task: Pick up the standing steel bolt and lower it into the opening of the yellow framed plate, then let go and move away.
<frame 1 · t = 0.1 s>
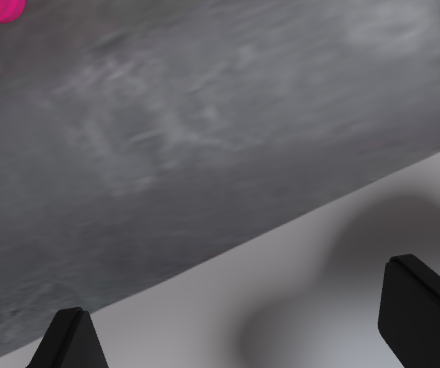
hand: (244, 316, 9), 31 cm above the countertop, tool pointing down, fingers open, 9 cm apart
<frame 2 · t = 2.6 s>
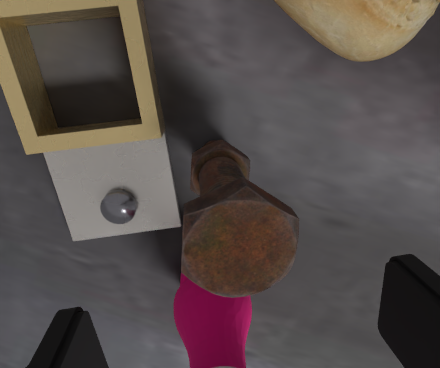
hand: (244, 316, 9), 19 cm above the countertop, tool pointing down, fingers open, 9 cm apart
pepper mill: (209, 273, 31), on the countertop
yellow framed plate: (91, 74, 23), on the countertop
bolt: (214, 156, 27), on the countertop
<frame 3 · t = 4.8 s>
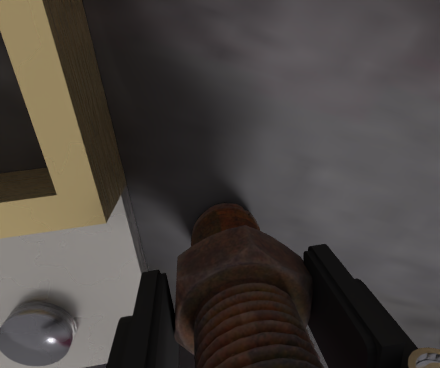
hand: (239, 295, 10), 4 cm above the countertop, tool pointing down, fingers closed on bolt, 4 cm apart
bolt: (223, 227, 14), on the countertop, touching gripper
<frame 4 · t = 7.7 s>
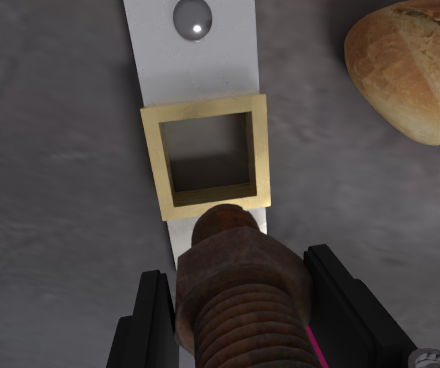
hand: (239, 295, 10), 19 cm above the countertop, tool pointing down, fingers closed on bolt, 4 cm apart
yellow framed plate: (208, 151, 28), on the countertop
bolt: (223, 228, 14), point 15 cm above the countertop, touching gripper
bread roll: (399, 74, 28), on the countertop
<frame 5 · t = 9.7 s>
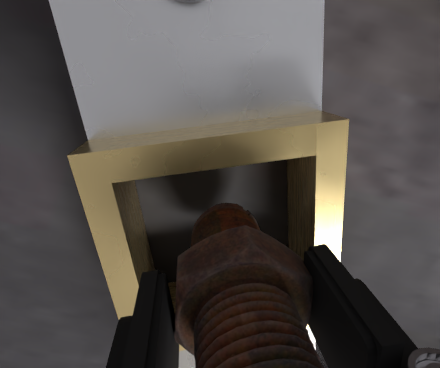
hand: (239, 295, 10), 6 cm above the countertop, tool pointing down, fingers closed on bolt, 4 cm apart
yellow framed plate: (217, 215, 15), on the countertop
bolt: (223, 227, 14), point 1 cm above the countertop, touching gripper
when the fingers open (6 cm above the countertop, at t = 10.4 s): bolt drops 1 cm, resting in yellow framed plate.
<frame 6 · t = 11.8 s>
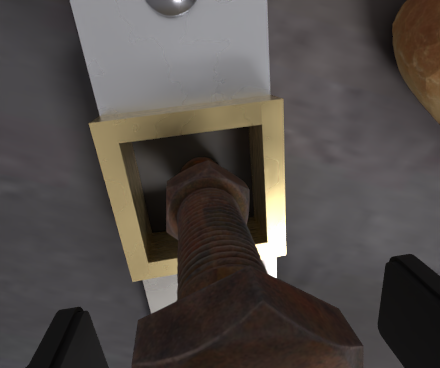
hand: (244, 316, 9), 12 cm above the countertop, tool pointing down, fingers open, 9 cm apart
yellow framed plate: (197, 177, 20), on the countertop
bolt: (200, 176, 20), resting in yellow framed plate
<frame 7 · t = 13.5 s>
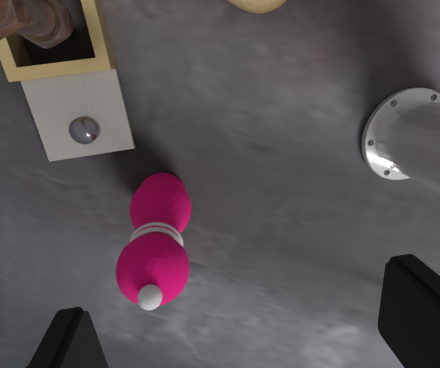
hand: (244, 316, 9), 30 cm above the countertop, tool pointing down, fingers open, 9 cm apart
pepper mill: (163, 193, 39), on the countertop
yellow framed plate: (57, 24, 31), on the countertop
bolt: (60, 25, 31), resting in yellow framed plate
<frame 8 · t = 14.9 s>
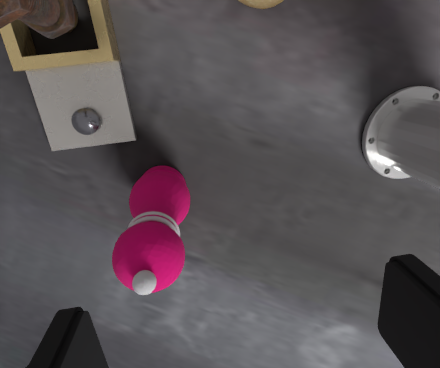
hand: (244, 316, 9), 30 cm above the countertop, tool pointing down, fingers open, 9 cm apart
pepper mill: (163, 186, 40), on the countertop
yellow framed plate: (62, 15, 31), on the countertop
bolt: (65, 16, 31), resting in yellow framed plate
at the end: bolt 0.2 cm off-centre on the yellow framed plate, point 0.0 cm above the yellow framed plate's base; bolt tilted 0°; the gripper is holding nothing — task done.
